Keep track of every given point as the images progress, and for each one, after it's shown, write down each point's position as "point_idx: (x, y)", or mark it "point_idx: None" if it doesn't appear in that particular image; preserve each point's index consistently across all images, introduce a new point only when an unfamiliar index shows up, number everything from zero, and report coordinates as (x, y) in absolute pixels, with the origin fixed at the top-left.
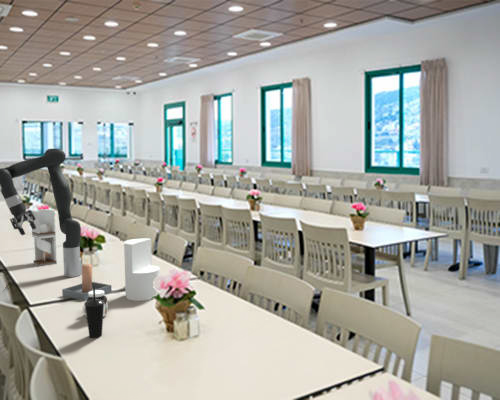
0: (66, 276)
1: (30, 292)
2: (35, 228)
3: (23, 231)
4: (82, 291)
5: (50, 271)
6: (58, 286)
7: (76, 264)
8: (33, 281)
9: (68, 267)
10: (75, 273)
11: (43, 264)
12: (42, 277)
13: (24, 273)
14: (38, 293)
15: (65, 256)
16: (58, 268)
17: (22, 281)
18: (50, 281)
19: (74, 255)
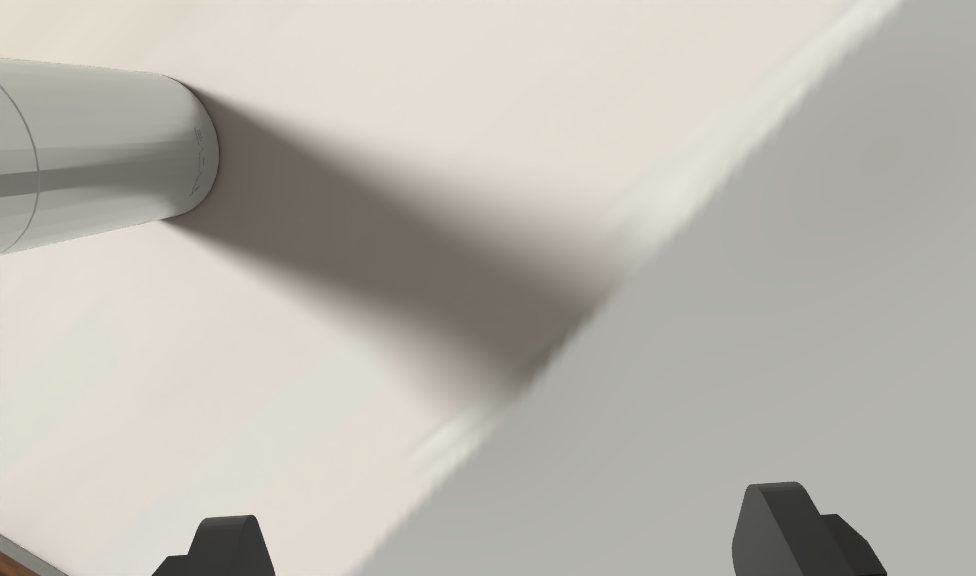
0: (217, 157)
1: (737, 115)
2: (235, 516)
3: (845, 564)
4: None
5: (140, 412)
6: (489, 2)
7: (82, 68)
8: (428, 340)
9: (157, 133)
10: (160, 80)
11: (38, 571)
12: (303, 352)
13: None
14: (749, 13)
15: (73, 175)
16: (48, 411)
17: (458, 425)
18: (378, 199)
19: (9, 69)
